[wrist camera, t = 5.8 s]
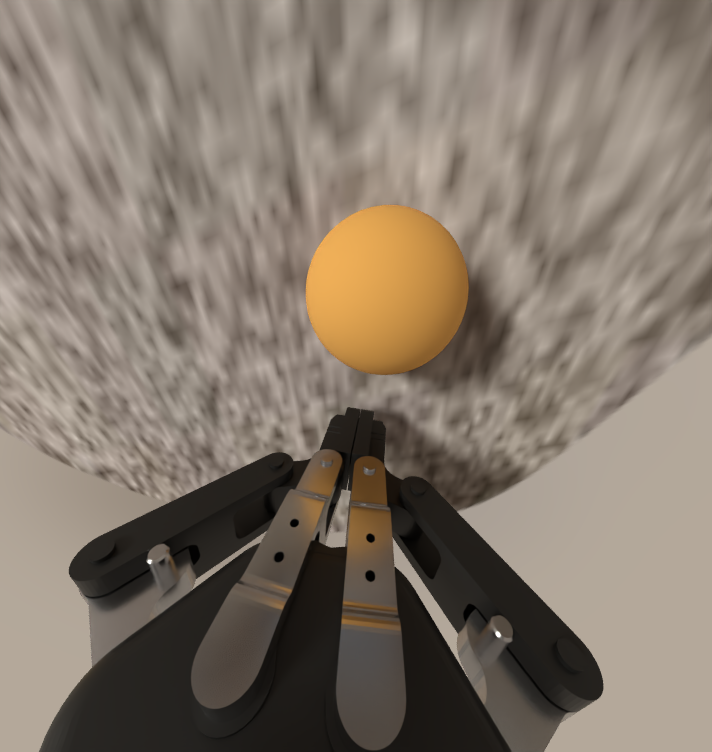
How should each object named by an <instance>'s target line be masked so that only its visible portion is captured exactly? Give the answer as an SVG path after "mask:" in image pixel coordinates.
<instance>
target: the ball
mask: <svg viewBox="0 0 712 752" xmlns="http://www.w3.org/2000/svg"><path fill="white" fill-rule="evenodd" d="M468 290H469V285H468V274H467V269H466V264H465V261H464V258H463V255H462V253H461V251H460V249H459V247H458V245H457V243H456V241H455V240H454V238H453V237H452V236H451V234H450V233H449V232H448V231H447V230H446V229H445V228H444V227H443V226H442V225H441V224H440V223H439V222H438V221H436V220H435V219H434V218H432V217H431V216H429V215H427V214H425V213H423V212H421V211H419V210H416V209H413V208H410V207H405V206H399V205H381V206H375V207H370V208H367V209H364V210H361V211H359V212H357V213H355V214H352V215H350V216H349V217H347V218H346V219H344V220H343V221H341V222H340V223H339V224H338V225H337V226H336V227H334V228H333V229H332V230H331V231H330V232H329V233H328V235H327V236H326V237H325V238H324V239H323V241H322V242H321V244H320V245H319V247H318V248H317V250H316V252H315V254H314V257H313V259H312V261H311V264H310V267H309V271H308V276H307V281H306V304H307V310H308V315H309V318H310V321H311V324H312V326H313V329H314V331H315V333H316V335H317V336H318V338H319V340H320V341H321V342H322V344H323V345H324V346H325V348H326V349H327V350H328V351H329V352H330V353H331V354H332V355H333V356H334V357H336V358H337V359H338V360H339V361H341V362H343V363H344V364H346V365H347V366H350V367H352V368H354V369H356V370H359V371H362V372H365V373H370V374H378V375H392V374H399V373H403V372H407V371H410V370H413V369H415V368H418V367H420V366H422V365H423V364H425V363H427V362H429V361H430V360H431V359H433V358H434V357H435V356H437V355H438V354H439V353H440V352H441V351H442V350H443V349H444V348H445V347H446V346H447V344H448V343H449V342H450V341H451V339H452V338H453V336H454V335H455V333H456V332H457V330H458V328H459V326H460V324H461V322H462V319H463V316H464V313H465V311H466V306H467V301H468Z"/></svg>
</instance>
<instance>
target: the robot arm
mask: <svg viewBox="0 0 712 752" xmlns="http://www.w3.org/2000/svg"><path fill="white" fill-rule="evenodd" d="M373 416H374V411H369V410H363V409H361V413H360V409H357V408H350V407H348V408H347V411H346V414H345V416H344V415H336V416H335V417H333V418H332V419H331V421H330V424H329V427H328V429H327V432H326V434H325V437H324V440H323V442H322V445H321V448H320V450H319V451H317V452H316V453H315V454H314V455H313V456H312V458H311V459H308V460H303V461H293V459H292V458H291V456H290V455H288V454H286V453H280V452H279V453H272V454H270V455H268V456H265V457H263V458H261V459H259V460H257V461H255V462H253V463H251V464H249V465H247V466H245V467H243V468H240V469H238V470H236V471H234V472H232V473H230V474H228V475H226V476H224V477H222V478H220V479H218V480H215V481H213V482H211V483H209V484H207V485H205V486H203V487H201V488H199V489H197V490H195V491H193V492H191V493H188V494H186V495H184V496H182V497H180V498H178V499H176V500H174V501H172V502H170V503H168V504H166V505H164V506H161V507H159V508H157V509H155V510H153V511H151V512H149V513H147V514H145V515H143V516H141V517H139V518H136V519H134V520H132V521H130V522H128V523H126V524H124V525H122V526H120V527H118V528H116V529H114V530H112V531H109V532H107V533H105V534H103V535H101V536H99V537H97V538H96V539H94V540H92V541H91V542H90V543H88V544H87V545H86V546H85V547H83V548H82V549H81V550H80V551H79V552H78V553H77V555H76V556H75V557H74V559H73V560H72V562H71V564H70V567H69V575H70V577H71V578H72V580H73V581H74V582H75V584H76V585H77V586H78V588H79V592H80V594H81V596H82V597H83V598H84V600H85V601H86V602H87V604H88V605H89V619H90V638H91V656H92V668H91V669H90V670H89V672H88V673H87V674H86V675H85V676H84V677H83V678H82V679H81V681H80V682H79V683H78V684H77V686H76V687H75V688H74V689H73V691H72V692H71V693H70V695H69V697H68V698H67V699H66V701H65V702H64V703H63V705H62V707H61V709H60V710H59V712H58V713H57V715H56V717H55V718H54V720H53V722H52V724H51V726H50V728H49V730H48V732H47V734H46V736H45V738H44V741H43V743H42V746H41V748H40V751H39V752H544V750H545V749H546V747H547V745H548V743H549V742H550V740H551V738H552V736H553V735H554V733H555V731H556V729H557V727H558V726H559V724H560V723H561V722H563V721H564V720H566V719H567V718H569V717H571V716H572V715H574V714H575V713H577V712H578V711H580V710H581V709H583V708H585V707H586V706H587V705H589V704H590V703H592V702H594V701H595V700H597V699H598V698H599V697H600V696H601V695H602V692H603V679H602V675H601V672H600V669H599V667H598V665H597V662H596V661H595V659H594V657H593V655H592V654H591V652H590V651H589V649H588V648H587V647H586V646H585V644H584V643H583V642H582V641H581V640H580V639H579V638H578V637H577V636H576V635H575V634H574V632H573V631H572V630H571V629H570V628H569V627H568V626H567V625H566V624H565V623H564V622H563V621H562V620H561V619H560V618H559V617H558V616H557V615H556V614H555V613H554V612H553V611H552V610H551V609H550V608H549V607H548V606H547V605H546V604H545V602H543V600H542V599H541V598H540V597H539V596H538V595H537V594H536V593H535V592H534V591H533V590H532V589H531V588H530V587H529V586H528V585H527V584H526V583H525V582H524V581H523V580H522V579H521V578H520V577H519V576H518V575H517V574H516V573H515V571H513V570H512V568H511V567H509V565H508V564H507V563H506V562H505V561H504V560H503V559H502V558H501V557H500V556H499V555H498V554H497V553H496V552H495V551H494V550H493V549H492V548H491V547H490V546H489V545H488V544H487V543H486V541H485V540H483V538H482V537H481V536H480V535H479V534H478V533H477V532H476V531H475V530H474V529H473V528H472V527H471V526H470V525H469V524H468V523H467V522H466V521H465V520H464V519H463V518H462V517H461V516H460V515H459V514H458V513H457V511H456V510H455V509H454V508H453V507H452V506H451V505H450V504H449V503H448V502H447V501H446V500H445V499H444V498H443V497H442V496H441V495H440V494H439V493H438V492H437V491H436V490H435V489H434V488H433V487H432V486H431V485H430V484H429V483H428V482H427V481H426V480H424V479H422V478H420V477H415V476H411V477H407V478H405V479H404V480H401V479H399V478H397V477H395V476H393V475H392V474H391V473H390V472H389V471H388V470H387V469H386V467H385V465H384V453H385V432H386V428H385V426H384V424H383V422H381V421H375V420H373ZM359 417H360V418H359ZM349 474H350V475H349ZM348 479H349V483H348ZM347 484H348V490H350V491H351V494H350V502H349V511H348V522H347V532H346V544H345V547H336V548H330V547H328V546H326V545H325V544H326V541H327V537H328V534H329V531H330V528H331V525H332V521H333V518H334V515H335V512H336V509H337V505H338V500H339V498H340V495H341V490H342V489H344V490H346V489H347ZM265 531H267V532H266V534H265V536H264V538H263V539H262V541H261V543H259V544H256V545H254V546H252V547H251V548H249V549H247V550H246V551H244V552H243V553H242V554H240V555H239V556H238V557H236V558H235V559H233V560H232V561H231V562H229V563H228V564H227V565H225V566H224V567H223V568H221V569H220V570H219V571H217V572H216V573H215V574H213V575H212V576H210V577H209V578H208V579H206V580H205V581H204V582H202V583H201V584H200V585H198V586H197V587H196V588H194V589H193V590H192V588H193V586H194V584H195V581H196V579H197V578H198V577H200V576H201V575H203V574H204V573H205V572H207V571H209V570H210V569H211V568H213V567H214V566H216V565H217V564H219V563H220V562H222V561H223V560H225V559H226V558H227V557H229V556H230V555H232V554H233V553H235V552H236V551H238V550H239V549H241V548H242V547H244V546H245V545H247V544H248V543H249V542H251V541H252V540H254V539H255V538H256V537H258V536H260V535H261V534H263V533H264V532H265ZM392 537H393V538H394V540H395V541H396V543H397V544H398V546H399V547H400V549H401V550H402V552H403V553H404V554H405V556H406V558H407V559H408V561H409V562H410V564H411V565H412V567H413V568H414V569H415V571H416V572H417V574H418V575H419V577H420V578H421V580H422V581H423V583H424V584H425V586H426V587H427V589H428V590H429V592H430V593H431V595H432V596H433V597H434V599H435V601H436V602H437V603H438V605H439V606H440V608H441V609H442V611H443V612H444V614H445V615H446V617H447V618H448V620H449V621H450V623H451V624H452V626H453V627H454V628H455V630H456V631H457V633H458V638H457V650H458V655H459V658H460V661H461V664H462V666H463V668H464V670H465V672H466V674H467V675H468V677H467V676H466V674H465V672H464V671H463V669H462V667H461V666H460V664H459V662H458V661H457V659H456V657H455V656H454V654H453V653H452V651H451V649H450V647H449V646H448V644H447V642H446V641H445V639H444V638H443V636H442V634H441V633H440V631H439V629H438V628H437V626H436V624H435V623H434V621H433V620H432V618H431V616H430V614H429V613H428V611H427V609H426V608H425V606H424V605H423V603H422V601H421V599H420V598H419V596H418V594H417V593H416V591H415V589H414V588H413V587H412V585H411V583H410V582H409V581H408V580H407V578H406V577H405V576H404V575H403V574H402V573H401V572H400V571H399V570H398V569H397V568H396V567H394V554H393V539H392ZM191 590H192V591H191ZM468 678H469V679H468ZM469 680H470V681H469Z"/></svg>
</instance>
